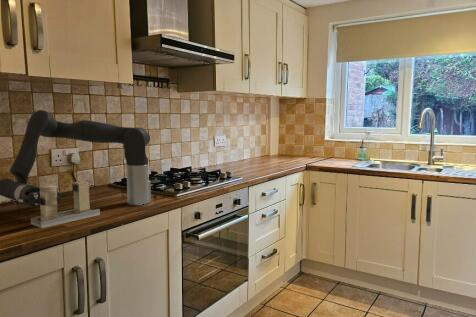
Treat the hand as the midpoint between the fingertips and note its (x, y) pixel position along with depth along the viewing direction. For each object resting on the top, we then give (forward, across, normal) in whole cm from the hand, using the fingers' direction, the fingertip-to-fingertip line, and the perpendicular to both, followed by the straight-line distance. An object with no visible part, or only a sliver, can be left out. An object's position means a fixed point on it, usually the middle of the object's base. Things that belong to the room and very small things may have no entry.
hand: (51, 200), depth 129 cm
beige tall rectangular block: (-3, 0, +7) cm, 8 cm away
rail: (-3, +6, +8) cm, 11 cm away
